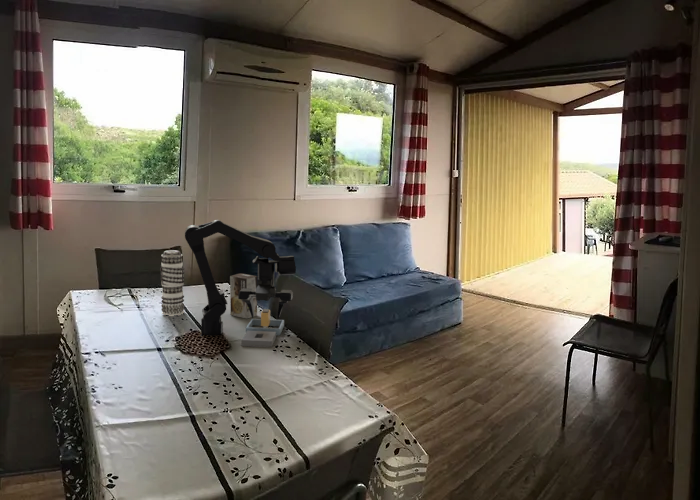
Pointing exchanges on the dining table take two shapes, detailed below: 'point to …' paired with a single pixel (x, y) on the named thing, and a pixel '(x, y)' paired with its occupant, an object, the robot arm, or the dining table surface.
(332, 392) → the dining table surface
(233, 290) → the coffee box
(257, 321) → the parts tray
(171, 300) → the decorative candle
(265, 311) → the fuse
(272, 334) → the fuse holder
